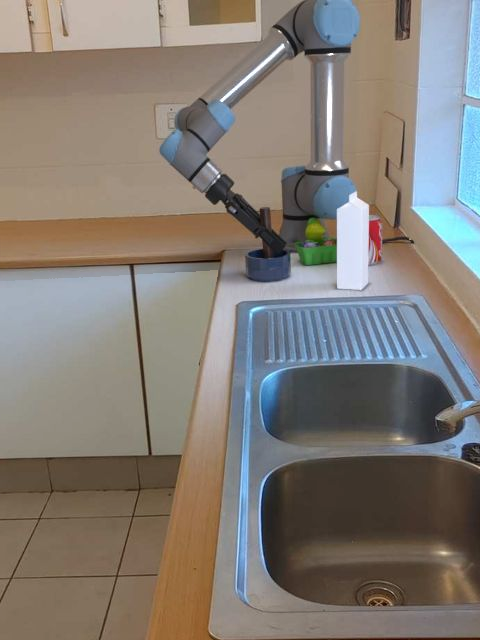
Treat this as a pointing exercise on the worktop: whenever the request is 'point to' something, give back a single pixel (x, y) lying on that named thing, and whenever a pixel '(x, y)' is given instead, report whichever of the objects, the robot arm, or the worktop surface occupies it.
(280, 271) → the bowl
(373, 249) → the soda can
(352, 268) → the milk
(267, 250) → the brown post with base
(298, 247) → the fruit basket
